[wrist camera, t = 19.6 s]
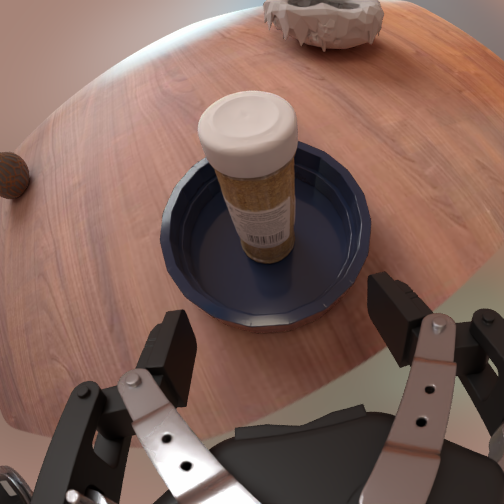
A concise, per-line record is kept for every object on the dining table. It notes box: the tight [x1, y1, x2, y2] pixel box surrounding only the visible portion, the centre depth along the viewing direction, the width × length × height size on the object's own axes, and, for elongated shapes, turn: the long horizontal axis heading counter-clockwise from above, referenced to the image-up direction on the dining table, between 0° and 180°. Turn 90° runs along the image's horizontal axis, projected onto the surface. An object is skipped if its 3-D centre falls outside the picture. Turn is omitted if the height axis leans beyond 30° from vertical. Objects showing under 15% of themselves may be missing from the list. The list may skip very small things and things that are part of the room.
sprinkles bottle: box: [198, 91, 298, 264], centre depth 18 cm, size 5×5×14 cm
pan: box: [160, 141, 371, 333], centre depth 22 cm, size 16×16×4 cm
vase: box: [0, 152, 29, 199], centre depth 29 cm, size 7×7×9 cm
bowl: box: [263, 0, 384, 52], centre depth 33 cm, size 21×20×10 cm
